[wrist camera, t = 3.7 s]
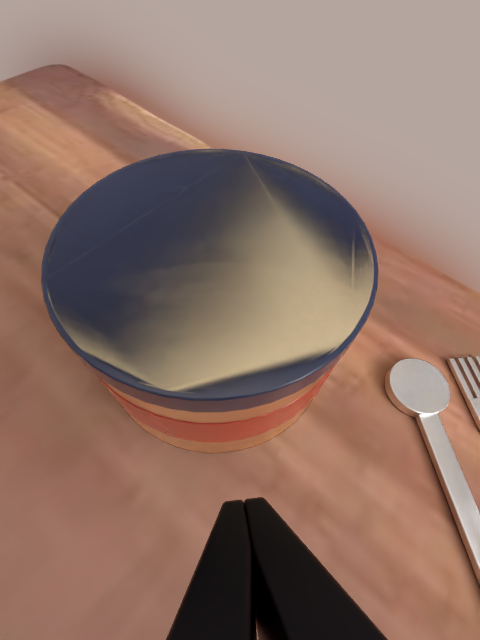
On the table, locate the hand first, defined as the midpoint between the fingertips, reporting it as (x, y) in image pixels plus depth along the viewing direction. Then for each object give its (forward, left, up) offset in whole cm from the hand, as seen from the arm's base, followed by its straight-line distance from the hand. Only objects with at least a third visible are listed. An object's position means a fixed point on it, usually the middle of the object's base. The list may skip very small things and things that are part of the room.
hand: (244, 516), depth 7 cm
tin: (+9, -5, -12) cm, 16 cm away
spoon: (-5, -11, -12) cm, 17 cm away
